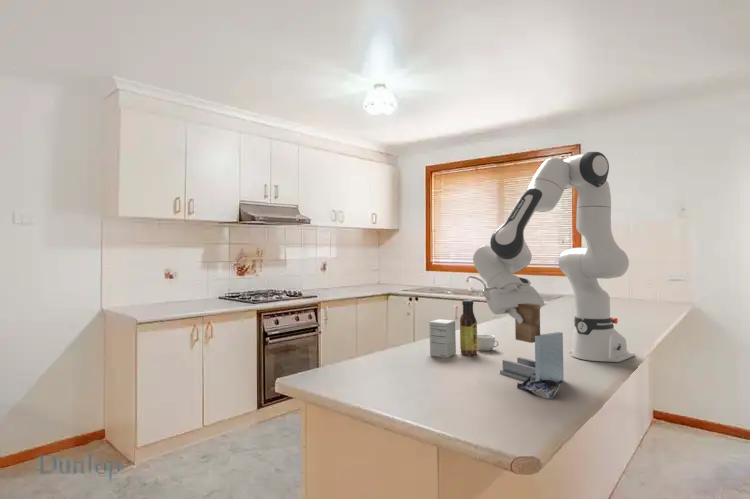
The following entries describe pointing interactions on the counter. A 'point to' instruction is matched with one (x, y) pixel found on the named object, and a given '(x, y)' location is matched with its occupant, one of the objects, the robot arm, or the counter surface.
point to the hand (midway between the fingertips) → (529, 321)
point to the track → (539, 360)
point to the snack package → (541, 386)
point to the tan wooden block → (528, 322)
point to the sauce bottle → (468, 329)
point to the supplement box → (442, 338)
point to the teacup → (486, 342)
